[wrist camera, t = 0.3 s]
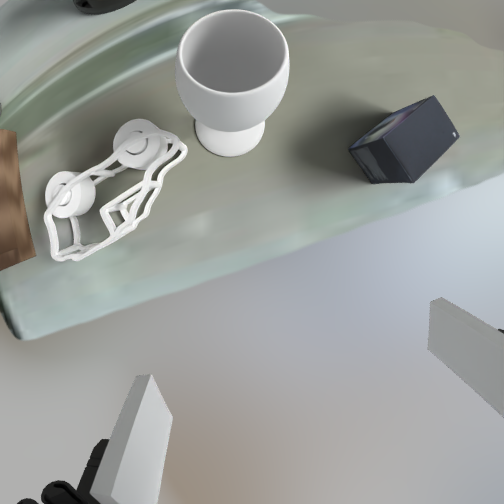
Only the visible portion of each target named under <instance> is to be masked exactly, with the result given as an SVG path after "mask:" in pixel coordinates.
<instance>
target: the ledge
mask: <svg viewBox="0 0 504 504" xmlns="http://www.w3.org/2000/svg"><path fill="white" fill-rule="evenodd" d="M35 256H36V253H35V250H34V246H33V242H32V238H31V233H30V229H29V224H28V220H27V215H26V210H25V204H24V199H23V193H22V186H21V179H20V171H19V163H18V153H17V140H16V132H13V131H8V130H4V129H0V271H1V270H3V269H6V268H8V267H10V266H13V265H15V264H17V263H20V262H22V261H25V260H27V259H30V258H32V257H35Z"/></svg>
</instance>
